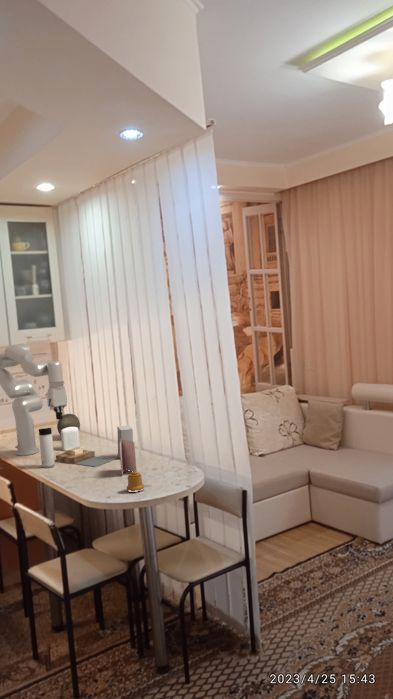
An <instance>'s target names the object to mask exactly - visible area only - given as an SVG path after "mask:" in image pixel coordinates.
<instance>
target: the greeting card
mask: <svg viewBox="0 0 393 699" xmlns="http://www.w3.org/2000/svg"><path fill="white" fill-rule="evenodd" d="M135 445H136V444H135V442H134V441H133V442H132V441H128V440H125V439H121V441H120V442H119V447H120V454H121V458H120V470H121V475H122V474H123V475H124V471H125V470H124V469H127V470H130V471H137V460H136V459H137V458H136V448H135ZM123 470H124V471H123ZM127 470H126V471H127ZM130 471H129V472H130ZM137 472H138V471H137Z"/></svg>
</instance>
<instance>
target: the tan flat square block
mask: <svg viewBox="0 0 393 699" xmlns="http://www.w3.org/2000/svg"><path fill="white" fill-rule="evenodd" d="M92 457H95V451H94V450H85V449H83V453H81V454H78V455H69V454H65V452H63V453H60V454H57V455H55V461H56V462H59V463H65V464H72V465H76V464H75V463H78V462H81V461H84V460H87V459H89V458H92Z"/></svg>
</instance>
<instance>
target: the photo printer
mask: <svg viewBox="0 0 393 699" xmlns="http://www.w3.org/2000/svg"><path fill="white" fill-rule="evenodd" d="M79 432H80V429H79V430H78V428H77V427H67V428H64V429H62V430H61V435H60V440H61V450H62V451H64V450H65V449H68V448H71V447H74V448H81V447H80V446H81V444H80V433H79Z"/></svg>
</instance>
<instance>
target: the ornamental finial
mask: <svg viewBox="0 0 393 699" xmlns="http://www.w3.org/2000/svg"><path fill="white" fill-rule="evenodd" d="M143 488H144V489H145V485H144V483H143V478H142V474H141V473H140V472H138V471H133V472H129V474H128V475H127V485H126V491H127V490H131V491H135V490H141V489H143Z"/></svg>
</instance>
